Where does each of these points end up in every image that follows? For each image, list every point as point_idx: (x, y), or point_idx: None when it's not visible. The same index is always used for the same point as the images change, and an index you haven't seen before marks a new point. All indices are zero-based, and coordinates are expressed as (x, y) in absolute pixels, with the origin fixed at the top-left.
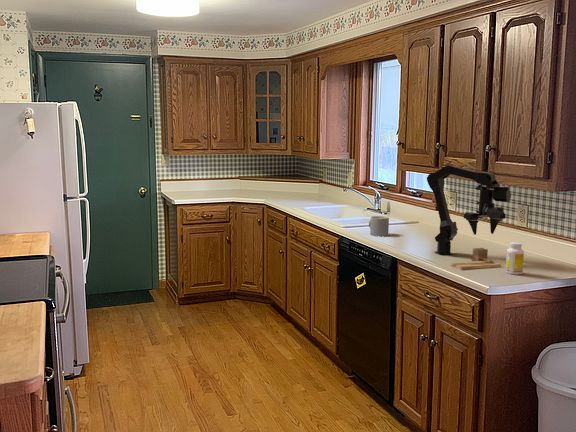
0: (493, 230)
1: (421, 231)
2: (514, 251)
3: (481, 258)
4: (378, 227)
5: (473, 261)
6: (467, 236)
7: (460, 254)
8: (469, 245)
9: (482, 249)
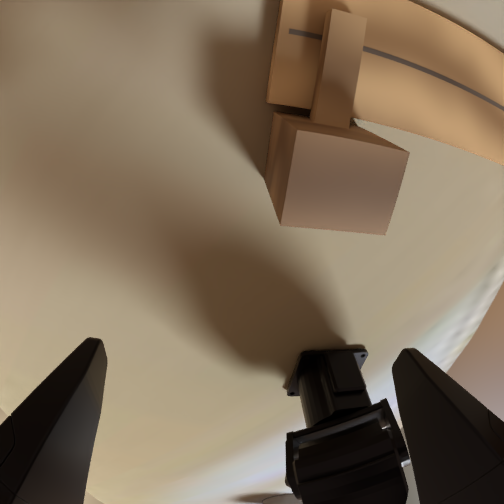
0: (75, 376)
1: (156, 500)
2: None
3: (346, 120)
4: None
5: (413, 125)
6: None
7: (256, 346)
8: None
9: (346, 160)
